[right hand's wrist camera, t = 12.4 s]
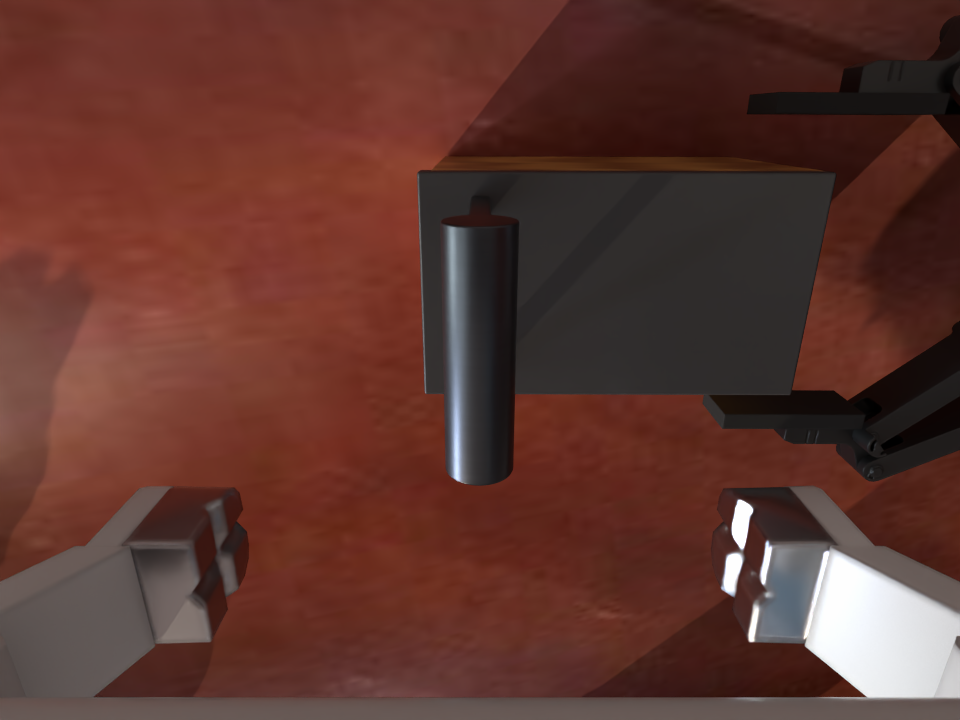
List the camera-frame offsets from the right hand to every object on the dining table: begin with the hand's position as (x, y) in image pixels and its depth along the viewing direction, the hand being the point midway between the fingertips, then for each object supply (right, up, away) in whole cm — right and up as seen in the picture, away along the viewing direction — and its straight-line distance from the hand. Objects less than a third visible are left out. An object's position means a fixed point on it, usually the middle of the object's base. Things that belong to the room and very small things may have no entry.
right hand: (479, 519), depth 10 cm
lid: (+5, +6, +14) cm, 16 cm away
